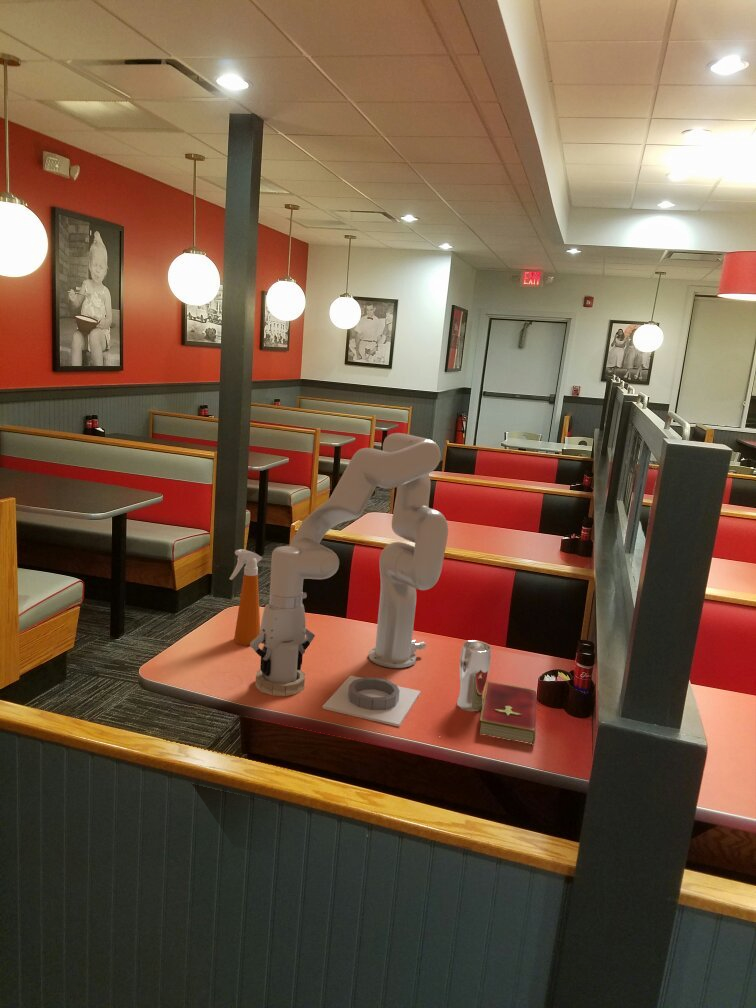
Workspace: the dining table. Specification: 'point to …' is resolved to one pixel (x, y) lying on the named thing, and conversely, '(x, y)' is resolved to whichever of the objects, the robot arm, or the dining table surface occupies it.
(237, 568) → the spray bottle
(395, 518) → the robot arm
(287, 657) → the can
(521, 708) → the hardcover book
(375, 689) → the holder
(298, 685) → the stand ring
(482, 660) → the silver tumbler
